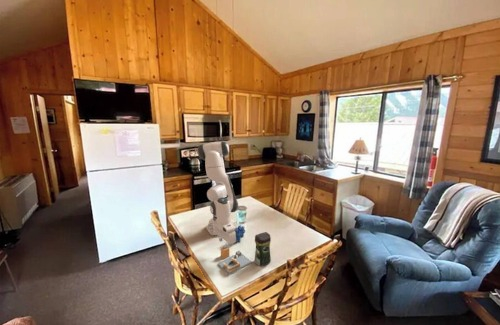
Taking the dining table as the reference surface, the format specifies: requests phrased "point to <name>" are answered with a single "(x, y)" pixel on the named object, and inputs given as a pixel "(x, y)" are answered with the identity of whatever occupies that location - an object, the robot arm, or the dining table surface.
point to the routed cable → (235, 256)
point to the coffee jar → (262, 248)
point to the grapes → (239, 232)
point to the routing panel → (241, 259)
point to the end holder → (236, 266)
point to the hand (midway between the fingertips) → (224, 244)
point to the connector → (224, 251)
